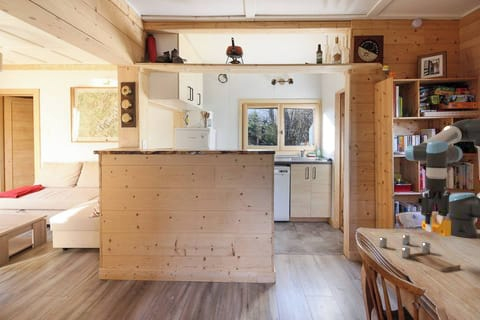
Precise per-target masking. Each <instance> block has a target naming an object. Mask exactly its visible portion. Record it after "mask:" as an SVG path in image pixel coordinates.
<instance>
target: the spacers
mask: <svg viewBox="0 0 480 320" xmlns="http://www.w3.org/2000/svg"><path fill="white" fill-rule="evenodd" d="M410 238H411V236H410V235H408V234H402V245H404V246H402V247H401V250H402V251H401V258H402V259H405V260H410V259H411V258H410V254H411V248H410V247H407V246H410V244H411V241H410V240H411V239H410ZM387 240H388V239H387V238H386V237H385V236H384V237H383V236H382V237H379V248H381V249H387V248H388V247H387V246H388V245H387V244H388V243H387V242H388V241H387ZM421 247H422V248H421V253H422V252H428V254H429V255H431V243H430V242H427V241H422V243H421Z"/></svg>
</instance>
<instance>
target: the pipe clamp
mask: <svg viewBox="0 0 480 320" xmlns="http://www.w3.org/2000/svg"><path fill="white" fill-rule="evenodd" d="M431 217H433V232H432V233H436V234H438V235H440V236H443V237H451V236H452V235H451V221H450V220H448V219H444V220H442V221H441V224H440V226H439V225H438V224H437V219H436V215H435V214H433V213H432V216H431ZM421 229H423V230H425V231H426V224H425V220H422V221H421Z"/></svg>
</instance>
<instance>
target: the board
mask: <svg viewBox="0 0 480 320" xmlns="http://www.w3.org/2000/svg"><path fill="white" fill-rule="evenodd" d="M410 259H412V260H415V261H417V262H419V263H421V264H424V265H426V266H427V267H429V268H432V269H434V270H437V271H438V272H441V273H442V272H449V271H455V270H461V264H457V265H456V264H453V263H450V262H447V261H445V260H442V259H441V258H438V257H436V256H434V255H431V254H428V252H422V251H421V252H415V253H410Z"/></svg>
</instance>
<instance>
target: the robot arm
mask: <svg viewBox="0 0 480 320" xmlns="http://www.w3.org/2000/svg"><path fill="white" fill-rule="evenodd" d="M460 142H473V146H474V147H475V148H477V157H478V158H477V159H478V175H479V176H478V177H479V179H480V118H469V119H467V118H466V119H463V120H459V121H456V122H454V123H452V124H449V125H447V126H446V127H443V129H442V130H441V131H440V132H439V133H437V134H435V135H433V136H431V137H430V138H428V139H427V140H426V139H425V141H423V142H421V143H419V144H417V145H414V144H413V145H408V146H406V148H405V150H404V157H405V159H406V160H408V161H411V162H412V161H413V162H425V163H426V166H425V176H426V178H425V186H426V187H427V188H426V190H425V191H424V192H420V196H421V206H420V208H421V209H420V210H421V213H420V215H422V216H424V217H425V218H424V221H425V224H426V230H425V231H426V232H429V233H434V232H433V217H431V216H432V214H433V211H434V207H435V203H436V208H437V215H436V222H437V224H438V225H439V226H440V224H441V221H442V220H445V217H447V216H448V219H447V220H450V221H451V236H454V237H455V236H456V237H459V238H477V237H478V230H477V227H476V224H475V219H479V220H480V192H478V193H477V194H476V193H473V192H455V193H454V192H453V193H451V191H448V190H446V189H445V188H446V187H447V182H448V181H447V177H448V163H449V164H453V163H457V162H459V161H460V160H461V159H462V158H463V151H462V149H461V147H459V146H456V145H451V144H456V143H460Z"/></svg>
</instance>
